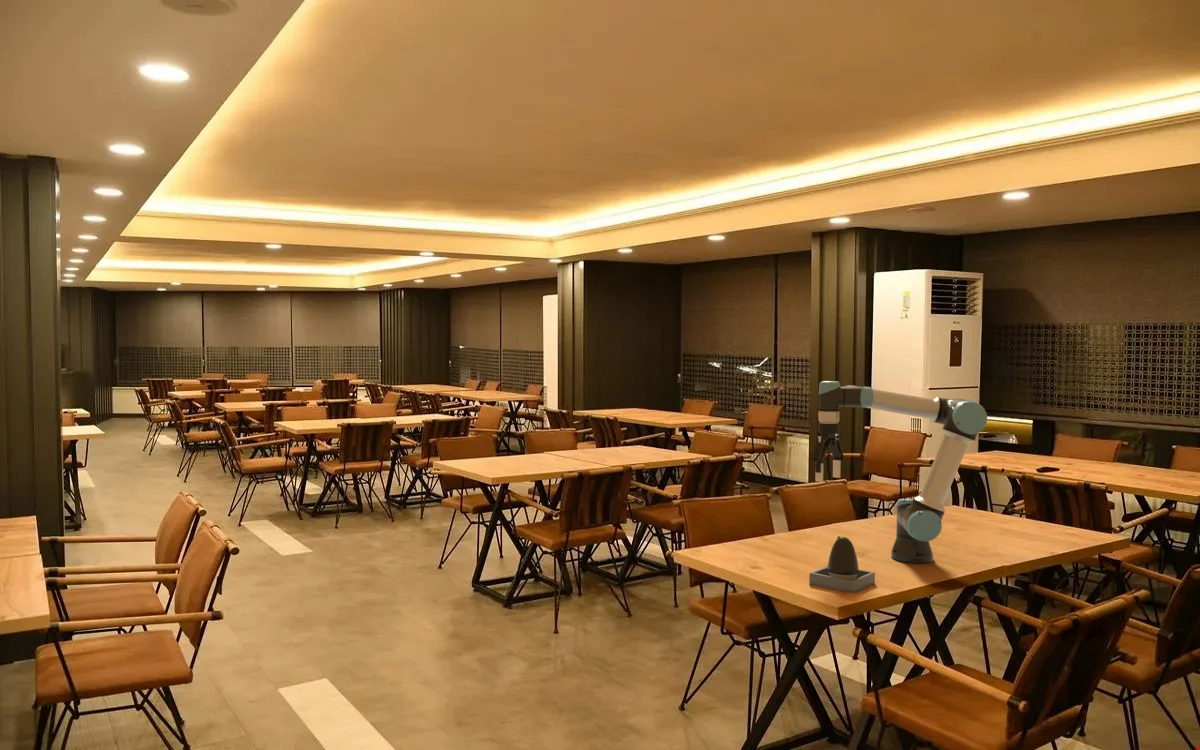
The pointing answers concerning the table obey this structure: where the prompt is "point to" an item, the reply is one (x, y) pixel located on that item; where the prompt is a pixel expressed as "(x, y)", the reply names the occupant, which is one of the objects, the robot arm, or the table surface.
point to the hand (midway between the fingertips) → (828, 479)
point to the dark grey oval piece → (843, 560)
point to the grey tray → (841, 580)
